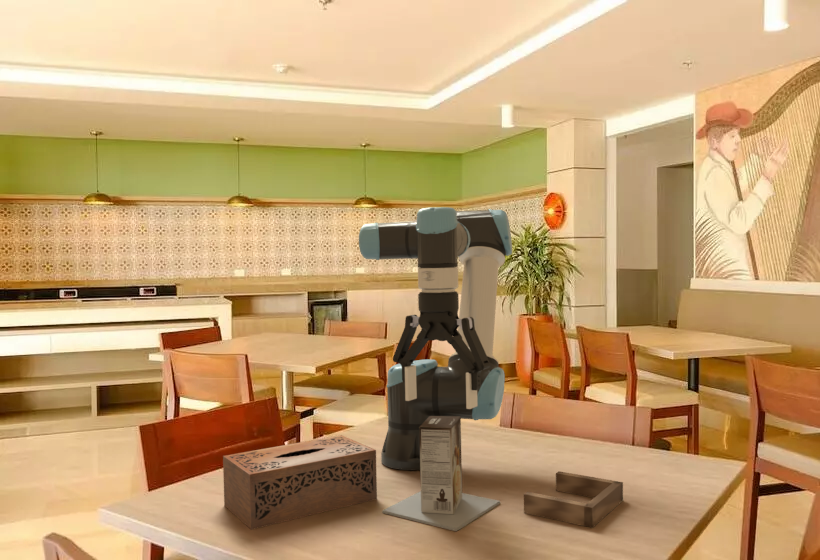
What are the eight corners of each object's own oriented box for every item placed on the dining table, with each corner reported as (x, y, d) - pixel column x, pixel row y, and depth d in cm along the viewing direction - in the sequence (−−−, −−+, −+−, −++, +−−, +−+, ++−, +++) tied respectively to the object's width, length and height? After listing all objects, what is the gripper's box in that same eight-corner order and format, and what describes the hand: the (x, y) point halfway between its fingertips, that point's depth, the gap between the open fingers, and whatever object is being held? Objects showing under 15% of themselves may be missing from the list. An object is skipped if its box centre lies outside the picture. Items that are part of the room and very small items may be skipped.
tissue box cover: (251, 530, 121) (249, 474, 120) (224, 507, 133) (223, 455, 132) (376, 500, 135) (375, 449, 135) (342, 481, 147) (341, 435, 147)
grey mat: (382, 512, 127) (382, 510, 127) (430, 488, 140) (430, 486, 140) (456, 531, 118) (456, 528, 118) (500, 503, 131) (500, 500, 131)
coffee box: (430, 496, 134) (429, 414, 134) (462, 498, 133) (461, 415, 132) (420, 513, 125) (418, 425, 125) (454, 515, 124) (453, 427, 123)
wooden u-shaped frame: (524, 512, 126) (523, 494, 126) (559, 488, 139) (558, 471, 139) (592, 527, 118) (592, 507, 118) (622, 500, 131) (622, 482, 131)
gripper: (373, 290, 132) (376, 400, 133) (487, 292, 118) (489, 415, 119) (396, 288, 138) (399, 393, 139) (507, 290, 124) (509, 406, 125)
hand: (440, 403), depth 129 cm, fingers open, 13 cm apart
